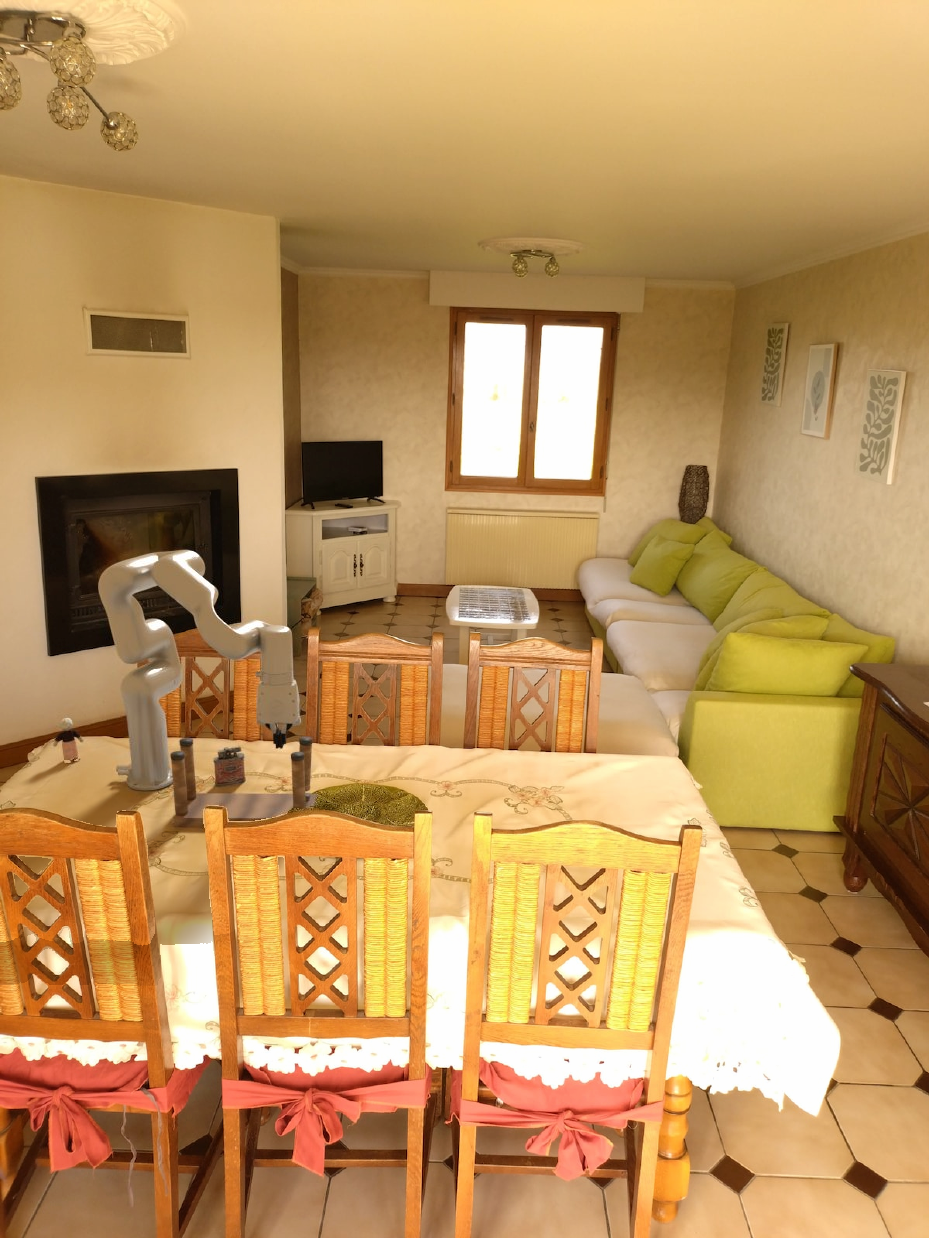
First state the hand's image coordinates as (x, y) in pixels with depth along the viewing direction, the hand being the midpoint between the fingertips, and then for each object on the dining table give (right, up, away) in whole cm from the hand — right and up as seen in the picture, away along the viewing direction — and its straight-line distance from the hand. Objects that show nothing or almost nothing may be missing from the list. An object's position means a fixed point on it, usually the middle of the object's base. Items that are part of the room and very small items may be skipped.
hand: (280, 746), depth 233 cm
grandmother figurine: (-64, -8, +28) cm, 70 cm away
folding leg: (+4, -5, +1) cm, 6 cm away
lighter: (-17, -12, +17) cm, 27 cm away
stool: (-8, -17, 0) cm, 19 cm away
